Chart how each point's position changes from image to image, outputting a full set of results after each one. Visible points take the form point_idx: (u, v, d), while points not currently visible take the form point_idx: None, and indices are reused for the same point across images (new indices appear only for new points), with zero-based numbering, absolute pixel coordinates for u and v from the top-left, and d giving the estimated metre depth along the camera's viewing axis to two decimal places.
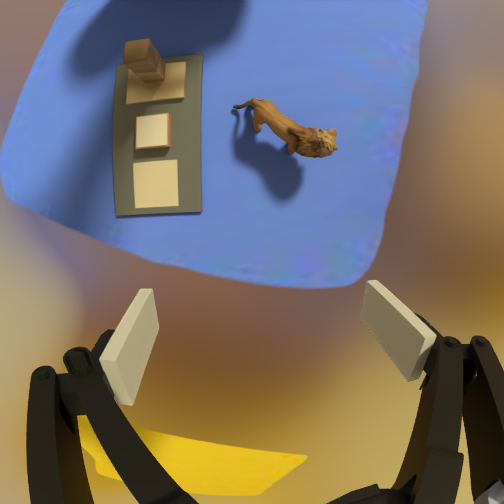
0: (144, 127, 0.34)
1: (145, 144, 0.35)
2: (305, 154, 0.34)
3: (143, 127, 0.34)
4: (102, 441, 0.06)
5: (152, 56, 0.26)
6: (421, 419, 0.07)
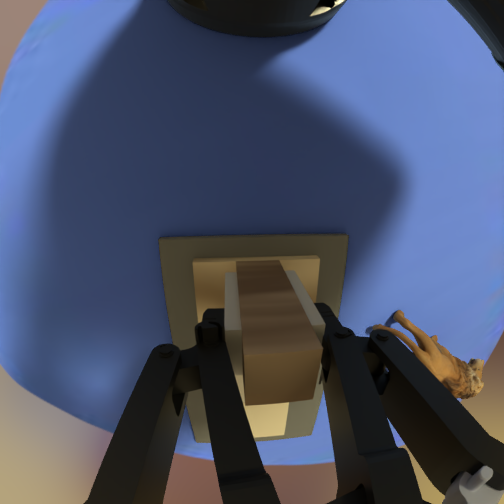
0: None
1: None
2: None
3: None
4: (207, 409, 0.07)
5: None
6: (336, 420, 0.08)
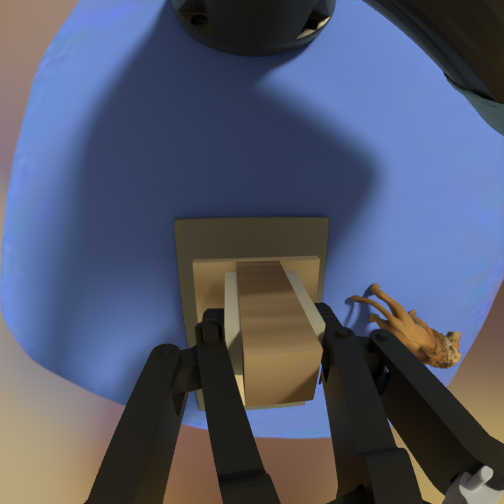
0: None
1: None
2: None
3: None
4: (208, 409, 0.07)
5: None
6: (337, 420, 0.08)
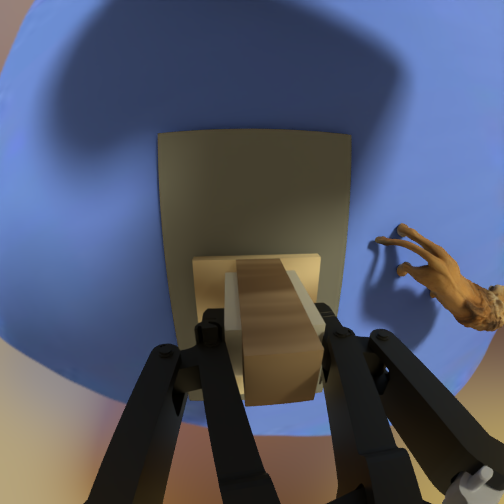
0: None
1: None
2: None
3: None
4: (207, 409, 0.07)
5: None
6: (337, 420, 0.08)
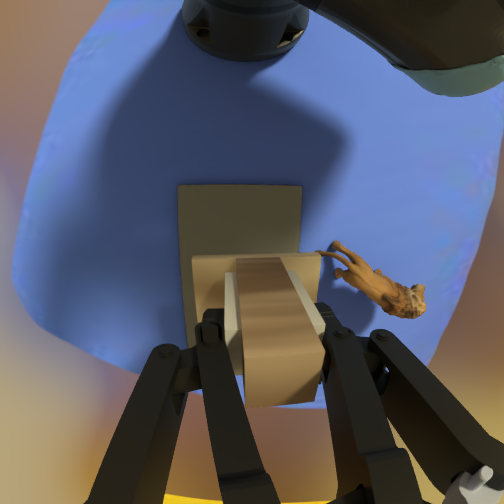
0: None
1: None
2: None
3: None
4: (208, 409, 0.07)
5: None
6: (336, 420, 0.08)
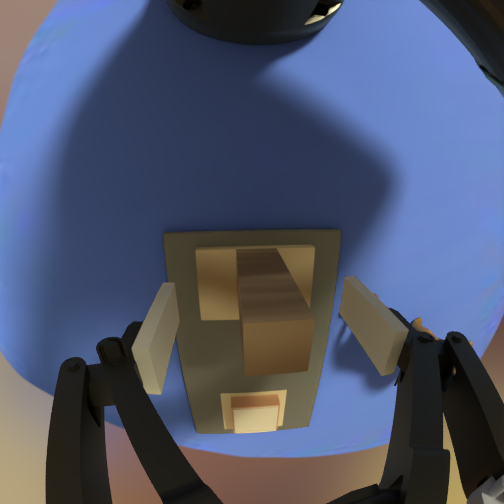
0: (245, 419, 0.25)
1: (248, 431, 0.26)
2: None
3: (244, 418, 0.25)
4: (128, 430, 0.06)
5: None
6: (400, 417, 0.08)
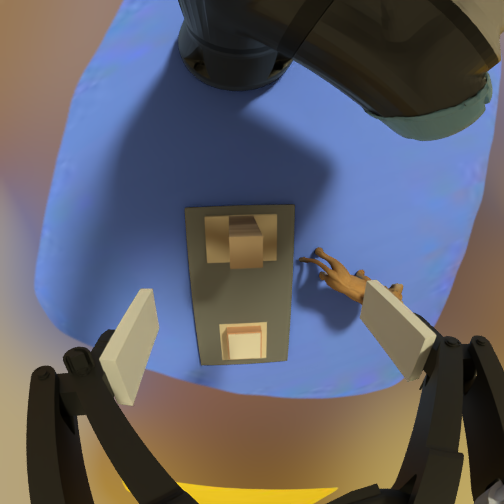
0: (237, 344, 0.39)
1: (239, 357, 0.40)
2: None
3: (236, 344, 0.39)
4: (102, 441, 0.06)
5: None
6: (421, 419, 0.07)
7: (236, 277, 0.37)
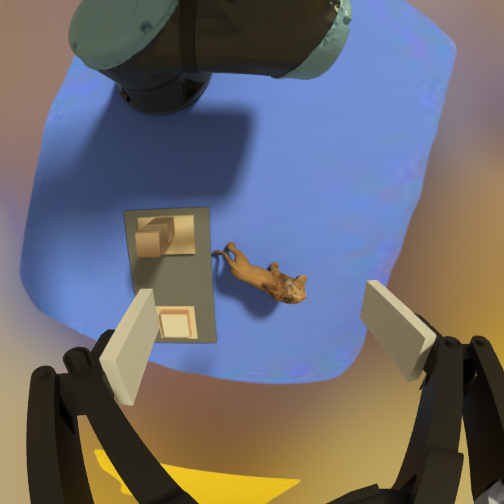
0: (169, 323, 0.46)
1: (172, 335, 0.46)
2: None
3: (168, 323, 0.46)
4: (102, 441, 0.06)
5: (163, 241, 0.34)
6: (421, 419, 0.07)
7: (165, 267, 0.44)
